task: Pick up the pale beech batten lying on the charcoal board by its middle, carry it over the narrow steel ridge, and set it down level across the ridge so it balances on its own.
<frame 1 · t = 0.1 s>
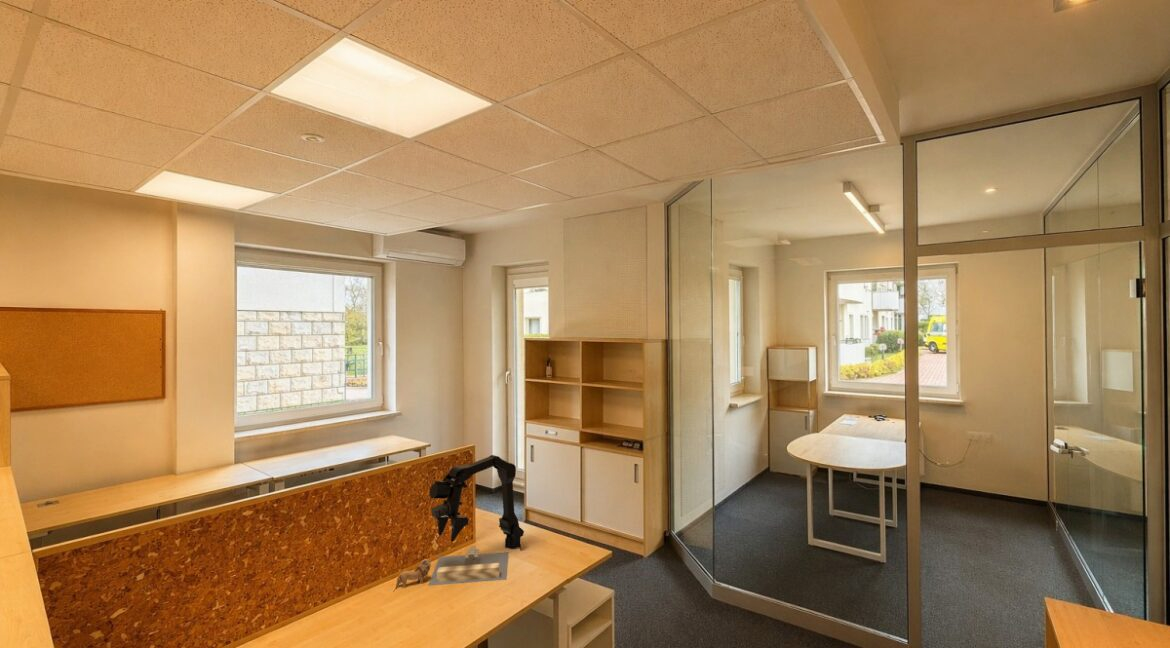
hand: (445, 538, 202), 15 cm above the table, tool pointing down, fingers open, 9 cm apart
lion figurine: (413, 586, 195), on the table
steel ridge: (472, 562, 211), resting on base board
base board: (471, 570, 207), on the table
beech batten: (468, 577, 198), point 1 cm above the table, touching base board
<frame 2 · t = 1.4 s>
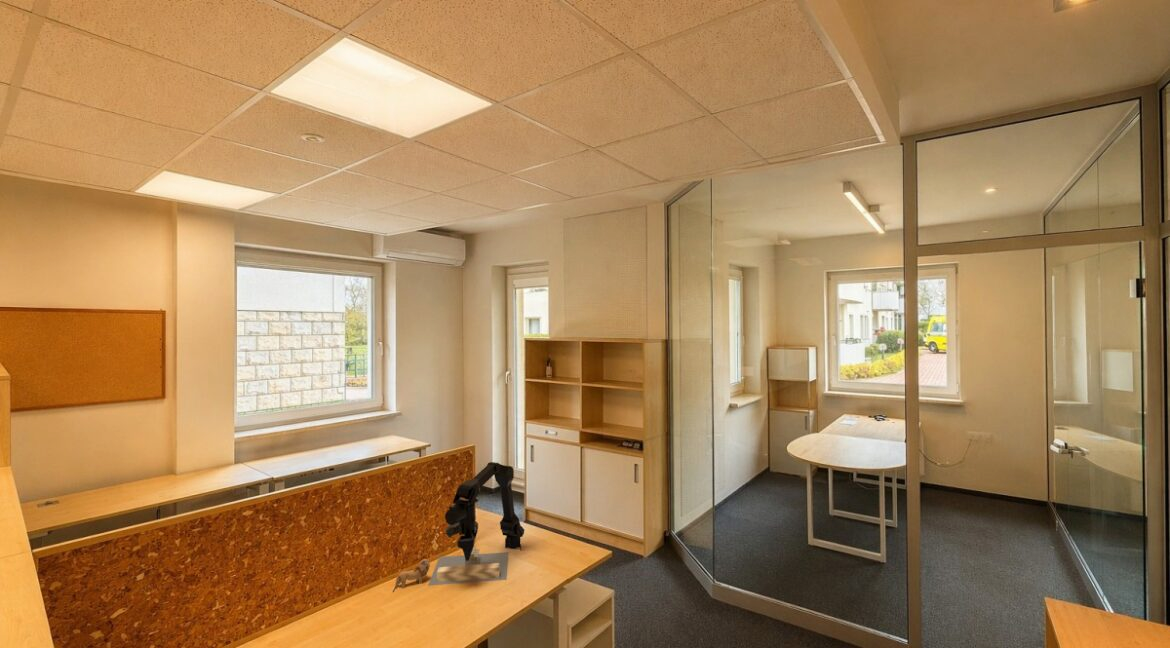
hand: (468, 555, 199), 10 cm above the table, tool pointing down, fingers open, 9 cm apart
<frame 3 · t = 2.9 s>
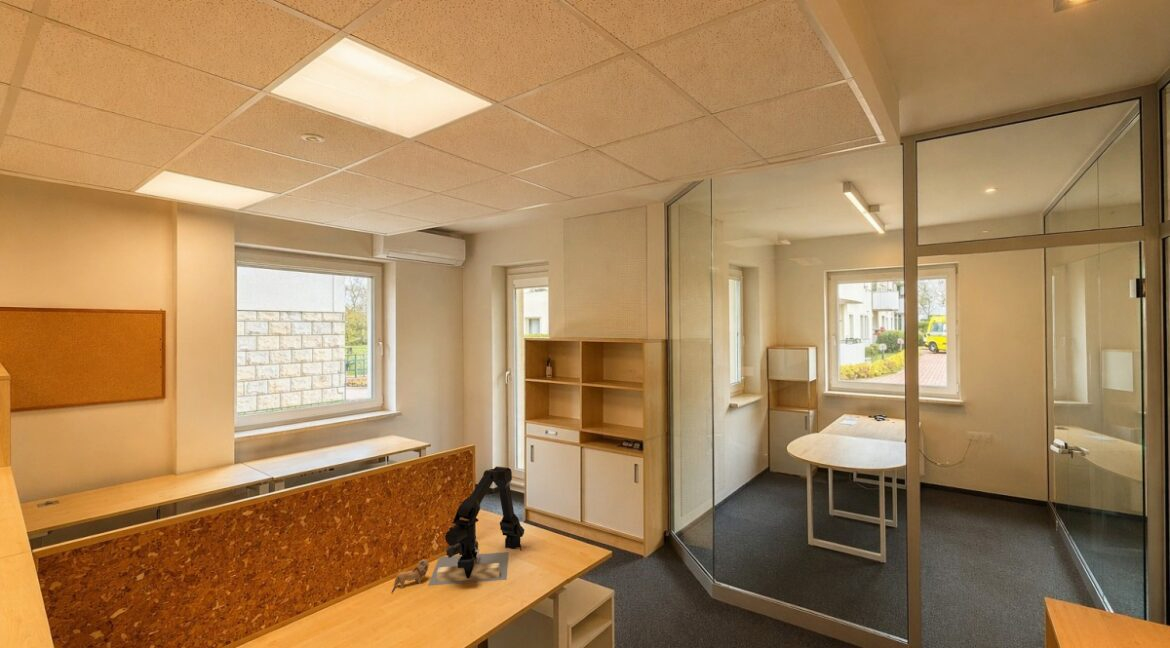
hand: (468, 575, 198), 2 cm above the table, tool pointing down, fingers closed on beech batten, 4 cm apart
beech batten: (468, 577, 198), point 1 cm above the table, touching base board, gripper
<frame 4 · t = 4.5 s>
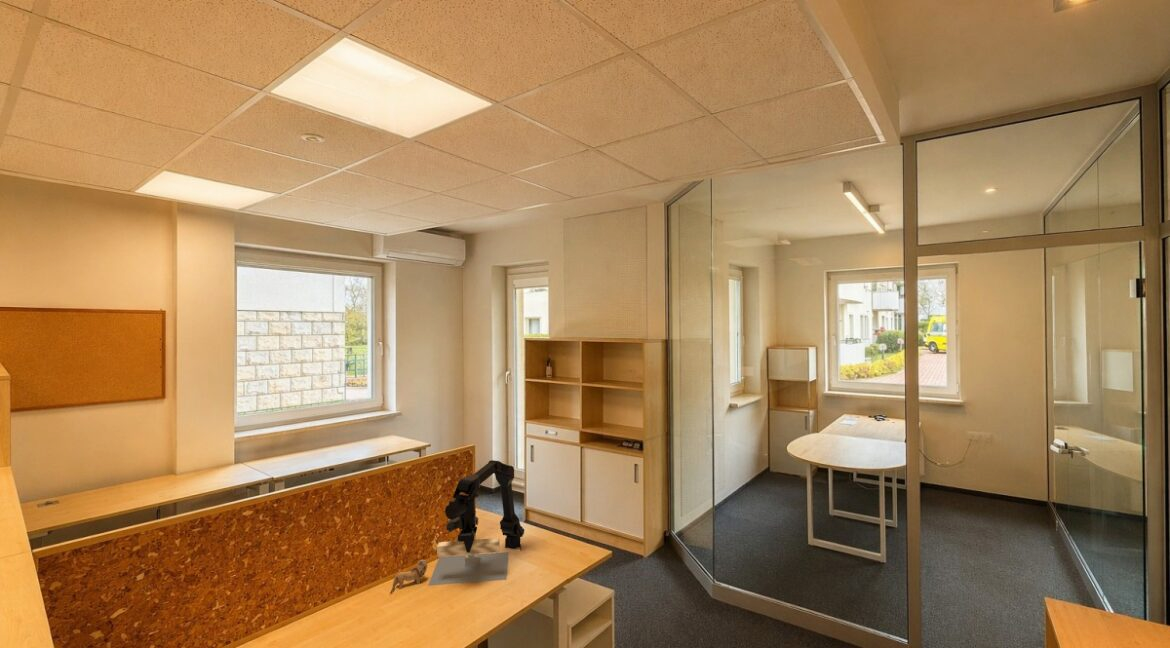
hand: (468, 550, 199), 12 cm above the table, tool pointing down, fingers closed on beech batten, 4 cm apart
beech batten: (468, 552, 199), point 11 cm above the table, touching gripper
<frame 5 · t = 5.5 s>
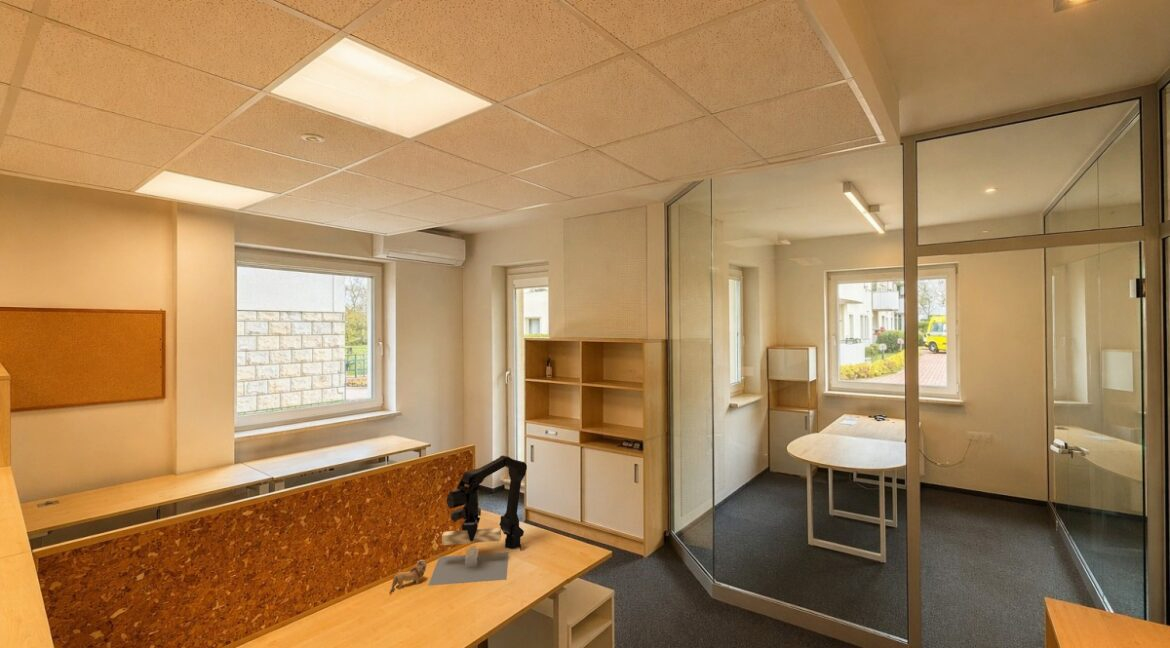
hand: (472, 539, 212), 11 cm above the table, tool pointing down, fingers closed on beech batten, 4 cm apart
beech batten: (472, 541, 212), point 10 cm above the table, touching gripper
when the fingers open (8 cm above the table, at t = 6.3 s): beech batten drops 1 cm, resting on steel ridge.
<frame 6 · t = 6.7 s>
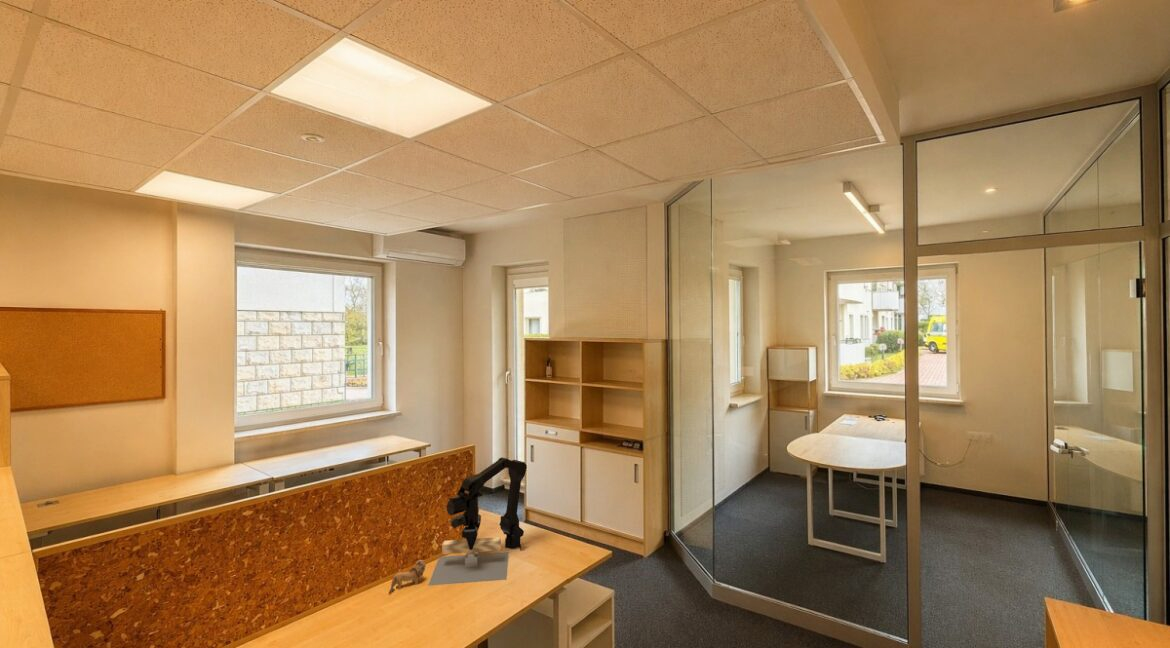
hand: (472, 545, 211), 8 cm above the table, tool pointing down, fingers open, 8 cm apart
beech batten: (472, 550, 211), point 6 cm above the table, touching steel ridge
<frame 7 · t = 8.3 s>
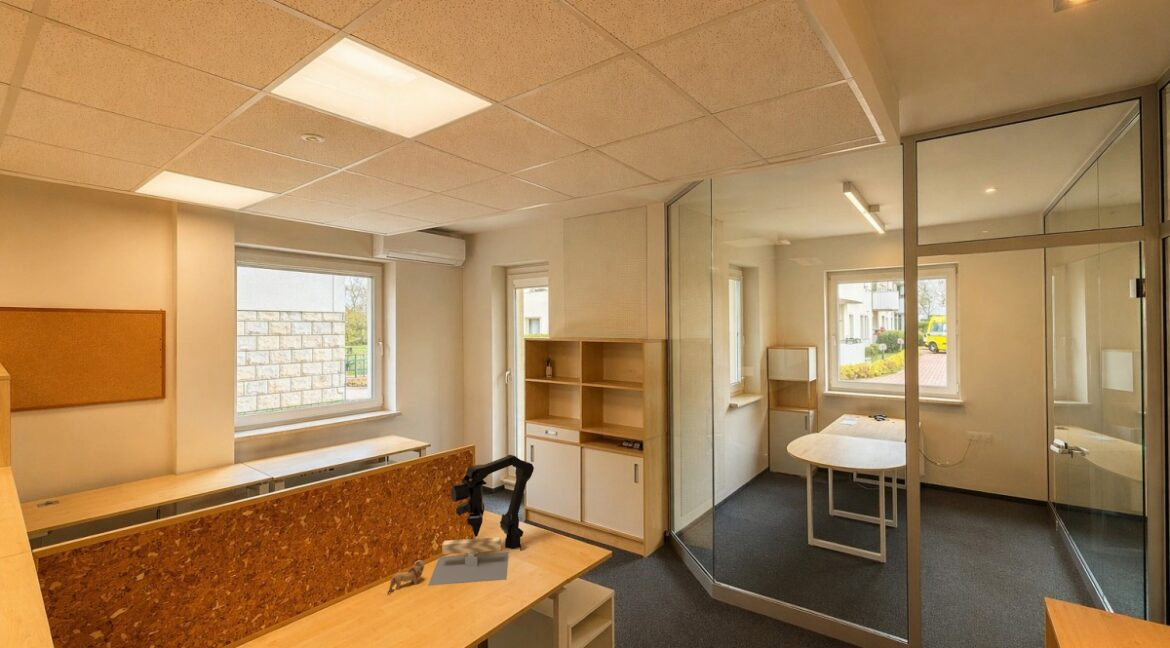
hand: (476, 532, 216), 12 cm above the table, tool pointing down, fingers open, 9 cm apart
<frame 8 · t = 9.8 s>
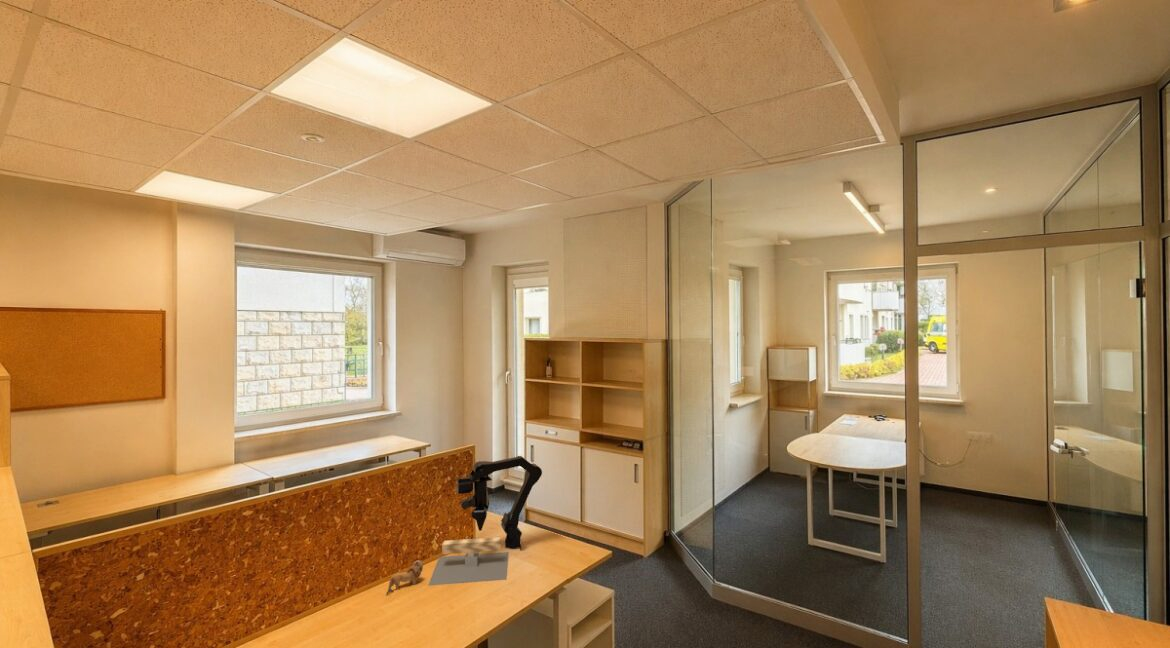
hand: (481, 526, 222), 13 cm above the table, tool pointing down, fingers open, 9 cm apart
at the end: beech batten 0.0 cm from the target spot, point 6.4 cm above the table; beech batten tilted 0°; the gripper is holding nothing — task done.
